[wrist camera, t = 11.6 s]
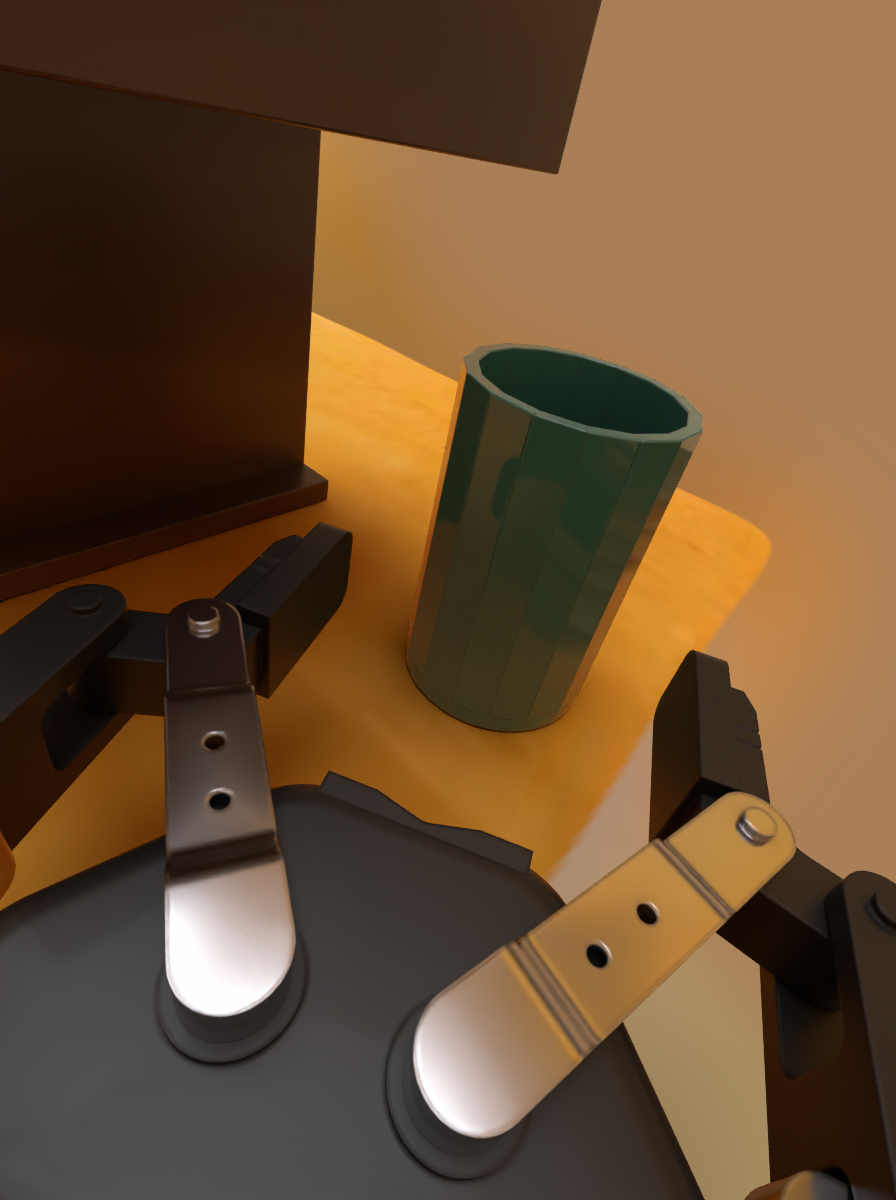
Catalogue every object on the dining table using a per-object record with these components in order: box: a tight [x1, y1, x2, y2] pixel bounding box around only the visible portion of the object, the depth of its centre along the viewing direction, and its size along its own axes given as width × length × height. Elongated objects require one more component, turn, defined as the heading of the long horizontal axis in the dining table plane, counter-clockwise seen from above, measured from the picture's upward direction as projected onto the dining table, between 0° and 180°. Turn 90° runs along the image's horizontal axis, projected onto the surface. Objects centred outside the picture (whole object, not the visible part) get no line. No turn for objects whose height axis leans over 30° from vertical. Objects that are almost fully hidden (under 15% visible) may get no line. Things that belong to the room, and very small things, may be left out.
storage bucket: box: [406, 343, 703, 732], centre depth 19 cm, size 6×6×10 cm
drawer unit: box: [0, 0, 602, 601], centre depth 16 cm, size 11×18×21 cm, turn 137°
